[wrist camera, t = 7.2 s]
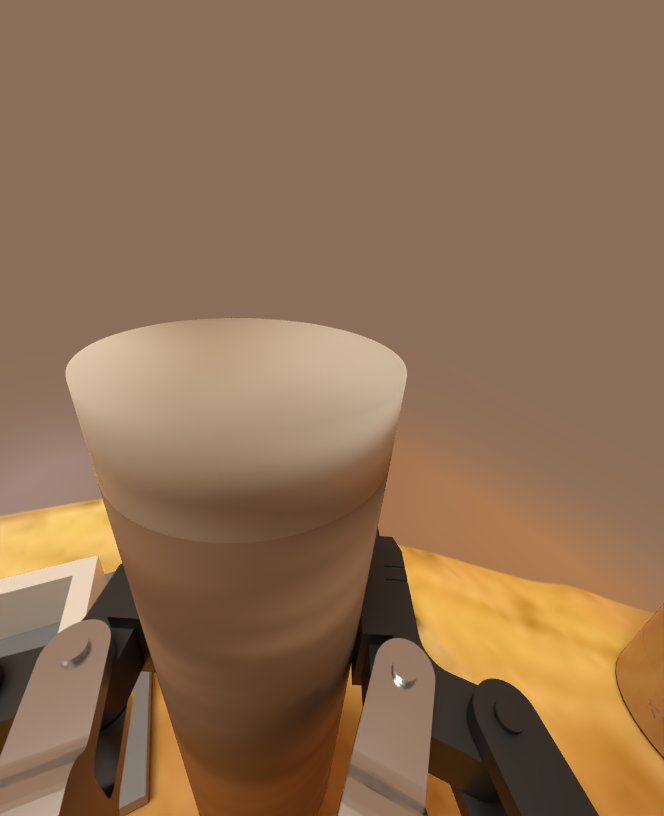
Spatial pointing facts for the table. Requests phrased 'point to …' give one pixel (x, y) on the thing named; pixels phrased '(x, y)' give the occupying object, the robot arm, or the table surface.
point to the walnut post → (245, 533)
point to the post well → (53, 612)
